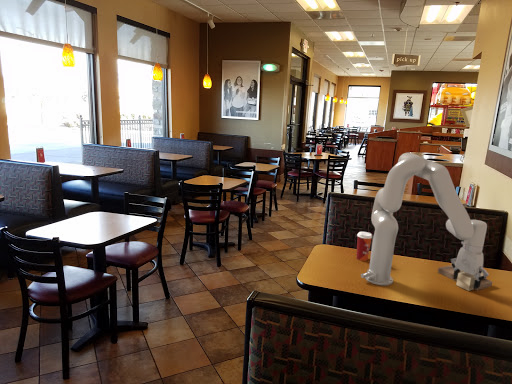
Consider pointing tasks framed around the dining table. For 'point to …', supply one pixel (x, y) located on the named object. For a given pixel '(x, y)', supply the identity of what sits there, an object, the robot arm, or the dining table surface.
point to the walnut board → (449, 271)
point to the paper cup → (363, 245)
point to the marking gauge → (466, 280)
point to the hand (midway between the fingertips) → (465, 283)
